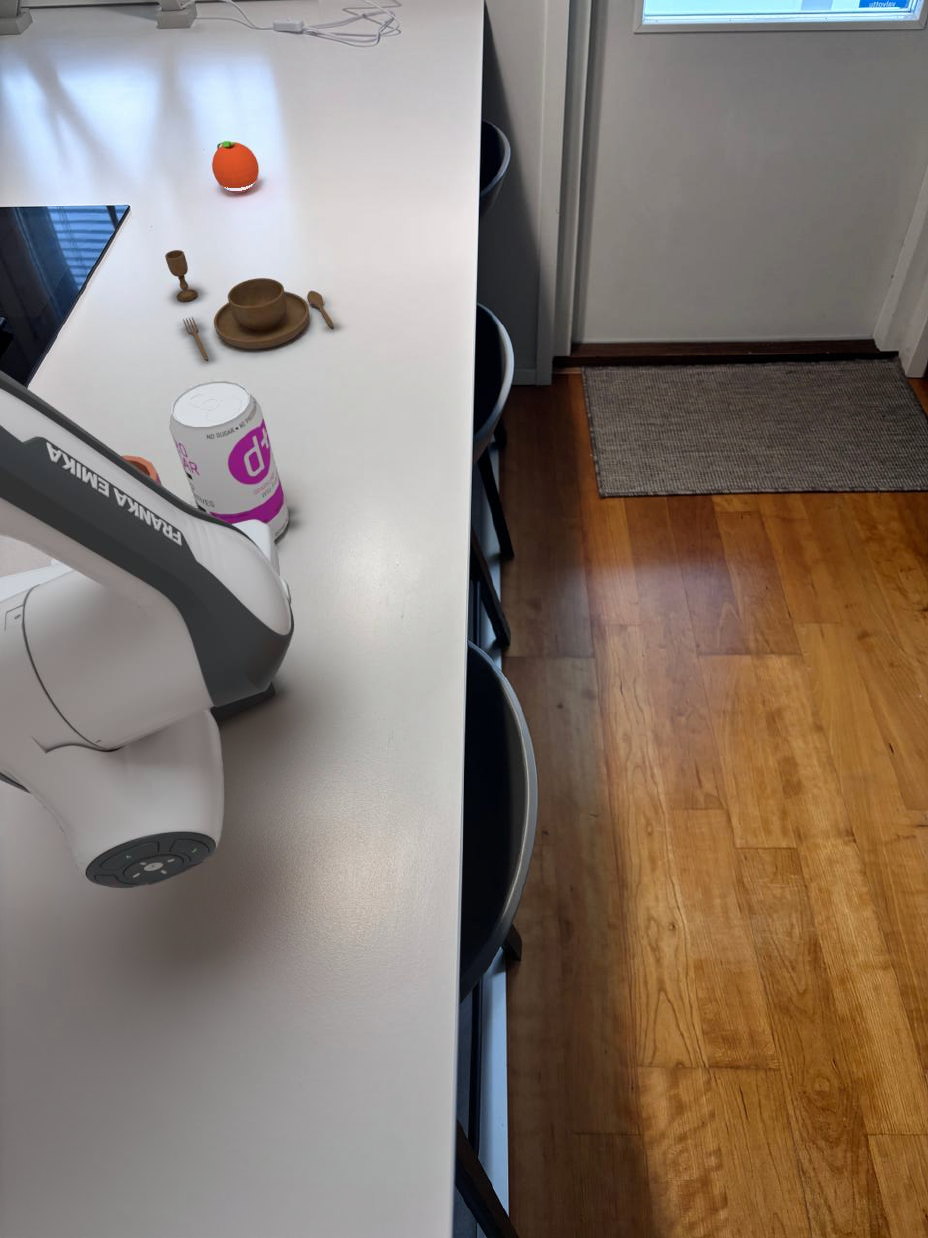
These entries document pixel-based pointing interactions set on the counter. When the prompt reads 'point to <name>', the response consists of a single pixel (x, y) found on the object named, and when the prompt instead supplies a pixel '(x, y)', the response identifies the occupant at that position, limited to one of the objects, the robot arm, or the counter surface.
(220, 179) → the clementine
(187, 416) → the supplement can
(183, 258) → the place setting
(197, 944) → the counter surface
